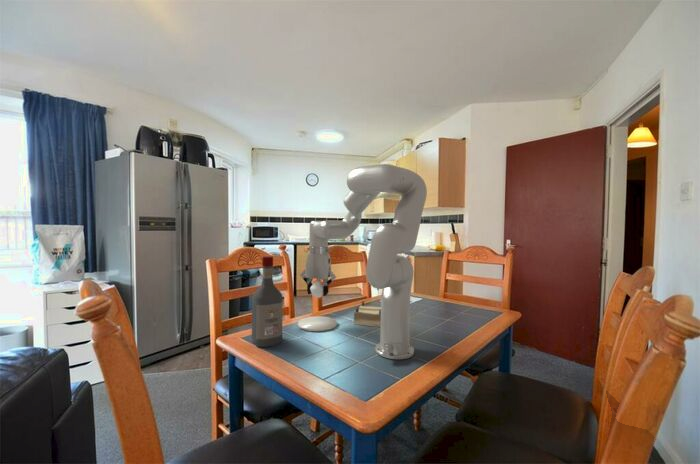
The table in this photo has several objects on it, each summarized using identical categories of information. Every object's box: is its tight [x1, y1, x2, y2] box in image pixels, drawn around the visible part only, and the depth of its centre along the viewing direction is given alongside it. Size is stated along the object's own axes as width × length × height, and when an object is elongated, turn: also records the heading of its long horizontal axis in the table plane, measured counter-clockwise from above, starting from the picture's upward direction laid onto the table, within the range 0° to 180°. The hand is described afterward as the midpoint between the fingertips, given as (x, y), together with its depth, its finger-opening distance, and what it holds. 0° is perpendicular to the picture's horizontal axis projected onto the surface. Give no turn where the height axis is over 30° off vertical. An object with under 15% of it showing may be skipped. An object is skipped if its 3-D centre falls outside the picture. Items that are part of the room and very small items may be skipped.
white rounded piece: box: [310, 279, 324, 299], centre depth 123 cm, size 6×6×7 cm
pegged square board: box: [353, 300, 381, 328], centre depth 129 cm, size 12×12×7 cm
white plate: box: [297, 315, 338, 332], centre depth 123 cm, size 16×16×1 cm
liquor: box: [251, 255, 284, 348], centre depth 105 cm, size 9×9×30 cm
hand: (317, 293), depth 123 cm, fingers closed on white rounded piece, 6 cm apart
